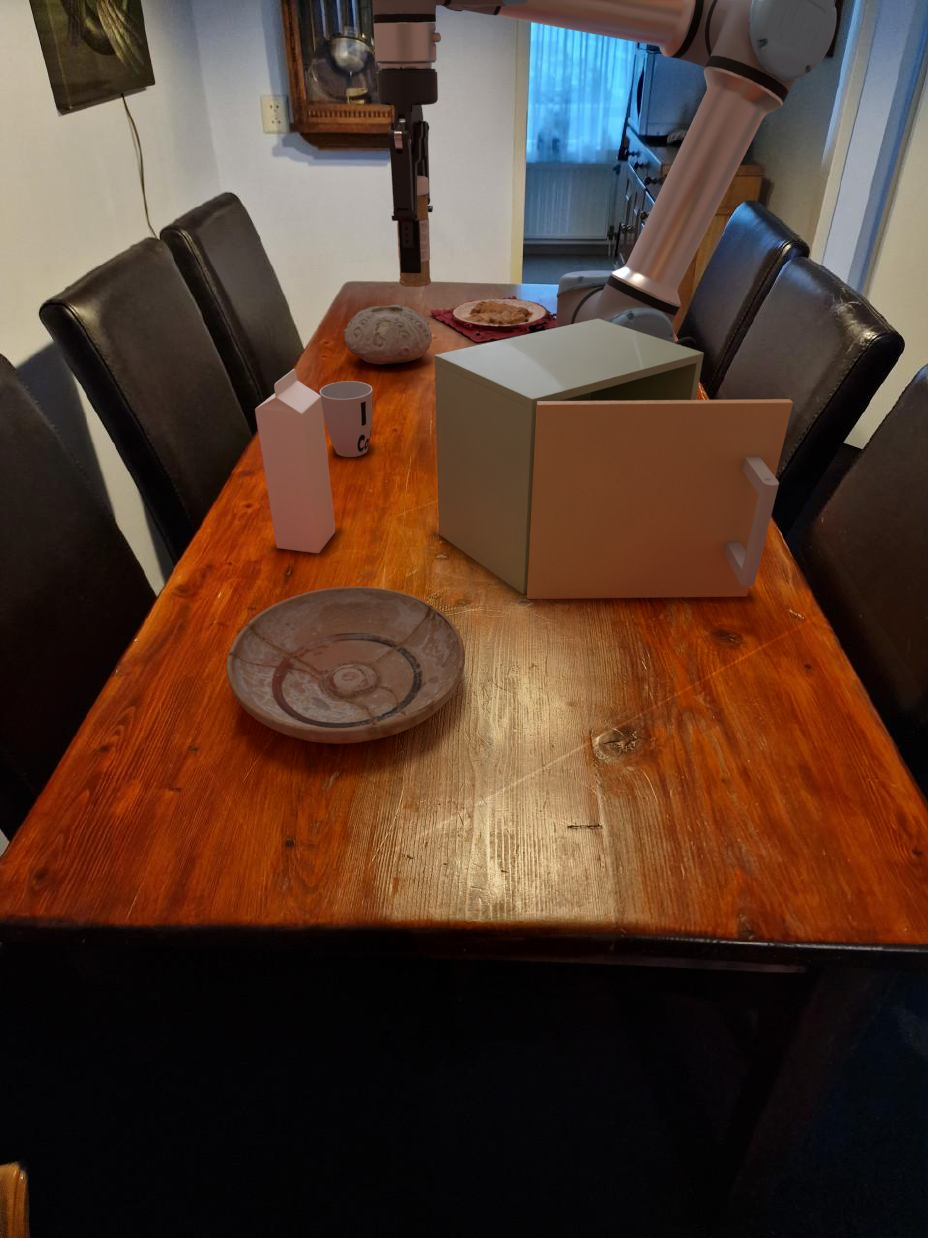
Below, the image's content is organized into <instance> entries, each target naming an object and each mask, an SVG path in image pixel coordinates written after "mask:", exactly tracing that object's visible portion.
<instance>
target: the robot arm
mask: <svg viewBox="0 0 928 1238" xmlns="http://www.w3.org/2000/svg"><path fill="white" fill-rule="evenodd" d="M437 6H441V7H444V8H445V9H447V10H449V11H453V12H463V11H467V12H470V13H471V12H472V13H478V14H483V15H488V16H495V17H501V18H506V19H511V20H516V21H523V22H526V23H527V22H528V23H533V24H539V25H544V26H549V27H554V28H560V29H565V30H571V31H575V32H581V33H585V34H592V35H597V36H602V37H606V38H613V39H618V40H622V41H623V40H624V41H629V42H632V43H633V42H634V43H639V44H644V45H650V46H656V47H658V48H659V50H660V53H661V54H662V55H663V57H666V58H672V59H678V60H681V61H685V62H688V63H690V64H691V63H692V64H694V65H696V66H701V67H703V68H704V70H703V75H704V80H705V84H706V91H705V94H704V95H703V97H702V100H701V102H700V104H699V106H698V108H697V111H696V112H695V115H694V116H693V119H692V121H691V123H690V126H689V128H688V130H687V132H686V134H685V136H684V138H683V141H682V143H681V145H680V147H679V148H678V152H677V153H676V155H675V158H674V160H673V162H672V164H671V167H670V169H669V171H668V173H667V174H666V175H667V176H666V177H665V179H664V182H663V184H662V186H661V188H660V190H659V193H658V195H657V197H656V199H655V202H654V203H653V205H652V208H651V210H650V212H649V214H648V216H647V218H646V220H645V223H644V225H643V227H642V229H641V231H640V234H639V235H638V238H637V240H636V242H635V245H634V247H633V249H632V251H631V253H630V256H629V257H628V260H627V261H626V263H625V265H623V266H622V267H620V268H618V269H615V270H607V269H606V270H603V269H601V270H597V269H596V270H580V271H579V270H578V271H571V272H567V273H564V274H563V275H561V277H560V278H559V281H558V289H557V293H556V299H557V300H556V313H557V314H556V316H555V318H556V327H555V328H558V327H562V326H567V325H571V324H576V323H580V322H585V321H589V320H594V319H601V320H604V321H607V322H610V323H613V324H616V325H619V326H622V327H626V328H629V329H632V330H635V331H638V332H641V333H644V334H647V335H650V336H653V337H656V338H659V339H663V340H666V341H669V342H672V343H675V344H678V345H682V344H685V343H690V344H691V345H693V346H694V345H697V341H696V340H695V338H693V337H691V336H686V337H682V338H680V339H678V340H676V336H675V332H674V330H675V329H674V325H673V322H674V320H675V318H676V316H677V314H678V313H679V310H680V307H681V305H682V303H681V299H680V296H679V292H678V291H679V287H680V285H681V284H682V282H683V279H684V277H685V275H686V273H687V271H688V270H689V267H690V266H691V263H692V261H693V259H694V257H695V255H696V253H697V252H698V249H699V248H700V245H701V243H702V241H703V239H704V237H705V236H706V233H707V231H708V230H709V227H710V225H711V223H712V221H713V219H714V217H715V215H716V214H717V211H718V210H719V207H720V206H721V203H722V202H723V199H724V198H725V196H726V194H727V191H728V189H729V187H730V185H731V183H732V181H733V180H734V178H735V175H736V174H737V171H738V169H739V168H740V165H741V163H742V162H743V159H744V157H745V156H746V153H747V151H748V149H749V147H750V145H751V144H752V142H753V139H754V138H755V135H756V134H757V132H758V129H759V127H760V126H761V124H762V122H763V119H764V118H765V117H766V116H767V115H768V114H770V113H772V112H774V111H776V110H778V109H780V108H782V107H783V105H784V102H785V101H786V98H787V96H788V95H789V93H790V91H791V89H792V87H793V85H794V83H795V81H796V80H798V79H801V78H803V77H805V76H806V75H807V74H808V73H811V72H812V71H813V70H814V69H816V68H817V67H818V66H819V64H820V63H821V62H822V61H823V59H824V58H825V56H826V54H827V53H828V51H829V49H830V46H831V45H832V41H833V39H834V36H835V32H836V26H837V13H838V12H837V8H836V2H835V0H372V14H373V39H374V59H375V63H377V64H380V68H379V69H378V70H377V72H376V85H377V86H376V87H377V100H378V102H379V104H380V105H383V106H392V107H393V108H394V111H393V122H391V123H390V130H388V131H387V139H388V146H389V156H390V157H389V158H390V173H391V174H390V175H391V186H392V187H391V189H392V190H391V191H392V207H393V211H392V214H393V215H391V221H392V222H398V225H399V244H400V263H399V265H400V264H401V273H421V249H420V222H419V220H417V218H418V215H417V176H424V177H427V178H428V182H429V183H430V154H429V153H430V152H429V135H430V134H429V133H430V132H429V131H430V124H429V122H428V121H427V120H424V112H423V106H429V105H430V106H431V105H434V104H436V103H437V102H438V99H439V95H438V94H439V88H438V84H439V83H438V71H437V69H436V68H432V67H433V66H432V64H435V63H436V62H437V44H436V43H440V42H441V40H442V35H441V33H440V32H437V31H436V29H437V28H436V27H437V26H436V22H437V14H436V13H437ZM430 193H431V191H430V188H429V193H428V213H433V210H434V205H431V194H430Z"/></svg>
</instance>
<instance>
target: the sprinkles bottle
mask: <svg viewBox="0 0 928 1238" xmlns="http://www.w3.org/2000/svg"><path fill="white" fill-rule="evenodd" d="M429 189H430V181H429V182H428V178H427V177H424V176H417V215H418V218H417V220H419V222H420V249H421V273H401V264H400V244H399V225H398V221H396V222H397V223H396V228H397V229H396V232H397V251H398V252H397V253H398V263H399V284H400V285H401V286H402V287H405V288H423V287H427V286H429V285H431V283H432V278H431V269H430V267H431V266H430V263H431V262H430V259H431V245H430V244H431V243H430V218H429V212H428V206H429V205H428V193H429Z"/></svg>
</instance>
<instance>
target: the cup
mask: <svg viewBox="0 0 928 1238" xmlns="http://www.w3.org/2000/svg"><path fill="white" fill-rule="evenodd" d="M319 395H320V396H321V400H322V410H323V419H324V424H325V426H326V429H327V433H328V436H329V440H330V442H331V445H332V446H333V448H334V451H335V453H336V455H339V456H340V457H345V458H354V457H359V456H362V455H365V454H366V453H367V452H368V449H369V445H370V442H371V437H372V427H373V417H374V405H373V403H374V400H373V399H374V398H373V397H374V396H373V395H374V394H373V386H372V385H371V384H368V383H365V382H361V381H355V380H352V381H351V380H347V381H345V380H344V381H337V382H332V383H329V384H328V383H327V384H326V385H324V386H322V387H321V388H320V389H319Z"/></svg>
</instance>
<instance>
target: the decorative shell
mask: <svg viewBox="0 0 928 1238" xmlns="http://www.w3.org/2000/svg"><path fill="white" fill-rule="evenodd" d="M343 335H344V343H345V346H346V347H347V350H348V351H349V352H350V354H352V355H356V356H357V357H358V358H360V359H361V360H363V361H365V362H366V363H369V364H375V365H381V366H382V365H385V364H386V365H387V364H388V365H389V364H392V365H393V364H401V363H409V362H413V361H415V360H418V359H419V358H421V357H422V356H423V355H425V354H426V353H427V352H428V350H429V349H430V347H431V344H432V343H433V342H432V341H433V336H432V335H433V334H432V331H431V327H430V322H429V321H427V320H426V319H425V317H423V315H422V314H420V313H419V312H417V311H416V310H414V309H411V308H409V307H408V305H405V306H404V305H400V304H391V305H375V306H370V307H367V308H365V309H359V312H357V313H356V314H355V315H354V316H353V317H352V318H351V319H350V320H349V322H348V324H347V326H346V328H345V329H344V330H343Z"/></svg>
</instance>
